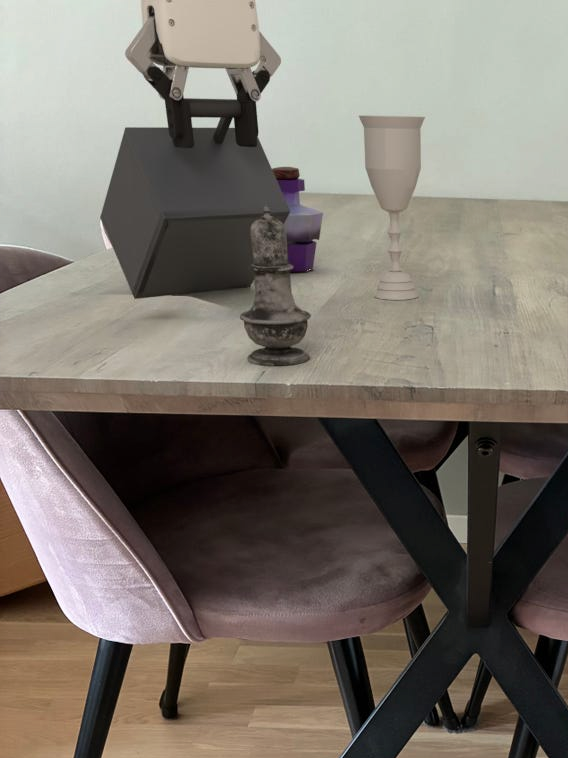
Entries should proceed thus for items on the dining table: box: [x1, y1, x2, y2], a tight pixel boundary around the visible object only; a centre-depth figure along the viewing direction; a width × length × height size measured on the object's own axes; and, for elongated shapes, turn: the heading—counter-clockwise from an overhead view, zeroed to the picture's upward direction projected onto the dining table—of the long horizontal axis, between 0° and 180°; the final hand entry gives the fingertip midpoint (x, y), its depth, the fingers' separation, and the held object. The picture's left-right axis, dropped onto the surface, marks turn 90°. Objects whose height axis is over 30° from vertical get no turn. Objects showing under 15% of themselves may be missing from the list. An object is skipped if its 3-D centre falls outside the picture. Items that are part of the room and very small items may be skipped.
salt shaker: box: [238, 205, 312, 367], centre depth 79 cm, size 6×6×12 cm
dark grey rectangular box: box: [100, 97, 290, 300], centre depth 100 cm, size 19×14×10 cm
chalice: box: [358, 115, 426, 301], centre depth 104 cm, size 7×7×18 cm
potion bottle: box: [272, 166, 324, 274], centre depth 121 cm, size 9×9×12 cm
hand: (215, 145), depth 94 cm, fingers closed on dark grey rectangular box, 6 cm apart
